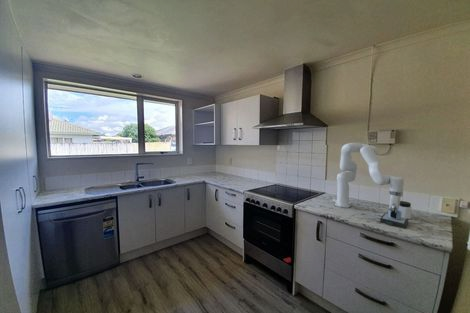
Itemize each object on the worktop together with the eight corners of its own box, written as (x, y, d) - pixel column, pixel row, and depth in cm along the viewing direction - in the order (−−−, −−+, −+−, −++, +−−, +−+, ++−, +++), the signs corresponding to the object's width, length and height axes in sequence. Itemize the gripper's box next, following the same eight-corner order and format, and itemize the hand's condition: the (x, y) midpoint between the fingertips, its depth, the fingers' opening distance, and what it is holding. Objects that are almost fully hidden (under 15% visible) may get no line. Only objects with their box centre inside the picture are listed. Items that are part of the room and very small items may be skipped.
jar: (402, 214, 153) (403, 200, 152) (413, 218, 145) (414, 203, 144) (392, 215, 152) (393, 200, 151) (402, 219, 144) (403, 204, 143)
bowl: (387, 217, 139) (387, 210, 138) (388, 215, 144) (389, 208, 143) (400, 220, 133) (400, 213, 133) (401, 218, 138) (402, 210, 138)
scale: (379, 222, 138) (380, 218, 138) (384, 217, 149) (384, 212, 148) (405, 229, 128) (405, 224, 127) (407, 222, 138) (408, 218, 138)
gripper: (391, 190, 145) (390, 211, 147) (387, 194, 134) (385, 217, 135) (404, 192, 140) (402, 214, 141) (400, 196, 128) (399, 220, 130)
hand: (394, 215), depth 138 cm, fingers open, 9 cm apart
